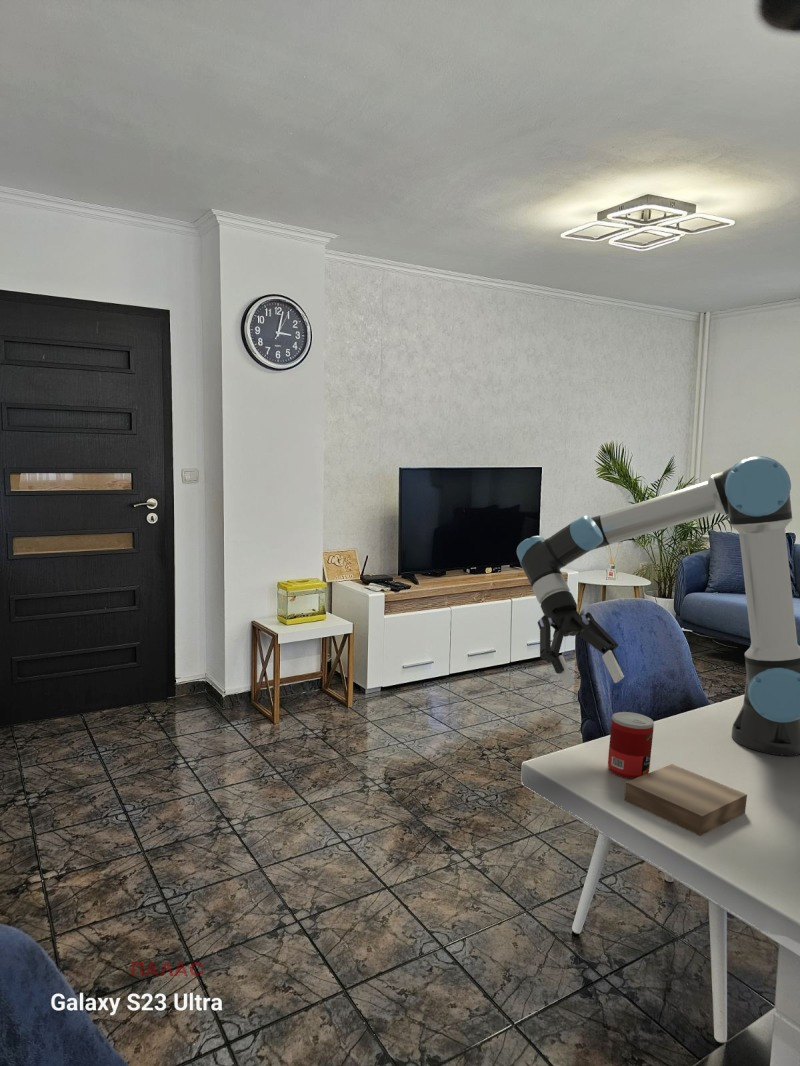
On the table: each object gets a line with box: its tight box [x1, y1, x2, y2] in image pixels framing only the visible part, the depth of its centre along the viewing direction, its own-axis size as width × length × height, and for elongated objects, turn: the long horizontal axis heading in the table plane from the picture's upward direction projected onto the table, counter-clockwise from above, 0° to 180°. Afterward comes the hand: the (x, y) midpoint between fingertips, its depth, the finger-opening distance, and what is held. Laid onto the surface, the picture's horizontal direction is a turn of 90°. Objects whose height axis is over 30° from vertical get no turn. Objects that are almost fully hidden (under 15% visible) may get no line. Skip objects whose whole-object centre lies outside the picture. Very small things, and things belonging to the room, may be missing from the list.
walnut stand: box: [623, 764, 748, 837], centre depth 136 cm, size 15×15×4 cm
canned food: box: [607, 711, 655, 780], centre depth 150 cm, size 8×8×11 cm
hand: (595, 683), depth 158 cm, fingers open, 13 cm apart
